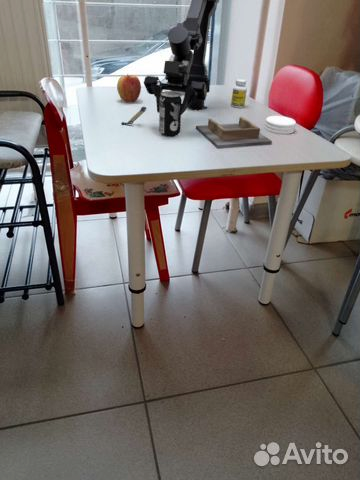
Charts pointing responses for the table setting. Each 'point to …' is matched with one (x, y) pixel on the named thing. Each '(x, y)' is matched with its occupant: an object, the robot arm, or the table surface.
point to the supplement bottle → (239, 94)
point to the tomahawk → (134, 117)
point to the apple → (129, 88)
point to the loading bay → (233, 134)
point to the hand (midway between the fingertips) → (168, 113)
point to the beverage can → (170, 113)
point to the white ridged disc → (280, 124)
